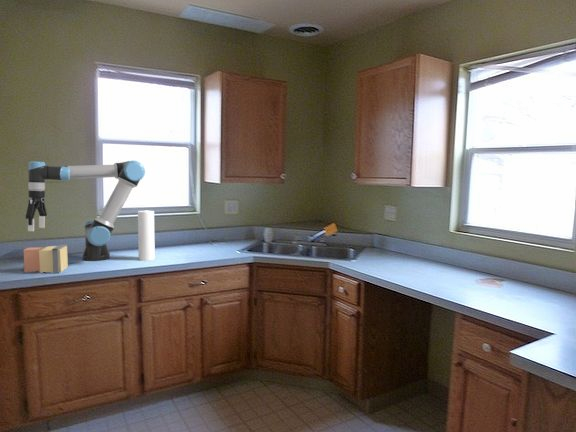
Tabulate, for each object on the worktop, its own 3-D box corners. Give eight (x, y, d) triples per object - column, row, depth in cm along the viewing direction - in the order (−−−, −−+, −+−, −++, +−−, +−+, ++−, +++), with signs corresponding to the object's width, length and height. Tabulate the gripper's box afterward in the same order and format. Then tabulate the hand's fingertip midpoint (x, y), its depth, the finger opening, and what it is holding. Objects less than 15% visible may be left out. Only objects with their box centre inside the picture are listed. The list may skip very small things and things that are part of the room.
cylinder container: (157, 258, 256) (157, 210, 253) (148, 261, 248) (147, 211, 244) (145, 256, 259) (144, 209, 256) (135, 259, 251) (134, 210, 247)
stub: (45, 269, 224) (44, 247, 223) (41, 271, 218) (40, 249, 217) (29, 269, 222) (28, 247, 221) (24, 272, 216) (23, 249, 215)
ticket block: (68, 266, 231) (67, 243, 229) (60, 273, 216) (59, 248, 215) (49, 267, 229) (48, 243, 227) (38, 273, 214) (37, 249, 212)
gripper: (39, 189, 233) (38, 226, 235) (18, 190, 209) (18, 232, 211) (53, 189, 235) (53, 226, 236) (34, 191, 210) (34, 232, 212)
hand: (36, 229), depth 224 cm, fingers open, 13 cm apart
